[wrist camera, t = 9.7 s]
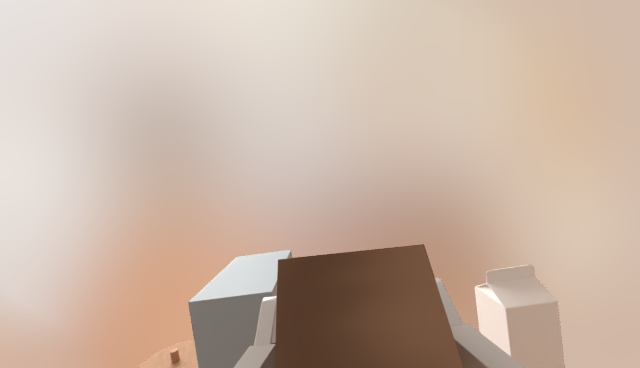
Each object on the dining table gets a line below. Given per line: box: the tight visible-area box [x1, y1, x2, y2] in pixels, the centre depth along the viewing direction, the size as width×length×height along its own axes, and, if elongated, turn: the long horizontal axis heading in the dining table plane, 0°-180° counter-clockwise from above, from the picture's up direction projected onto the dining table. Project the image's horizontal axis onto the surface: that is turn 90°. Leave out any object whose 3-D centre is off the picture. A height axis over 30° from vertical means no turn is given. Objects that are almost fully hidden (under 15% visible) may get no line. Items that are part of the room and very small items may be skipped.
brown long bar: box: [275, 245, 463, 368], centre depth 14 cm, size 4×24×4 cm
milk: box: [475, 265, 565, 368], centre depth 33 cm, size 6×6×22 cm
